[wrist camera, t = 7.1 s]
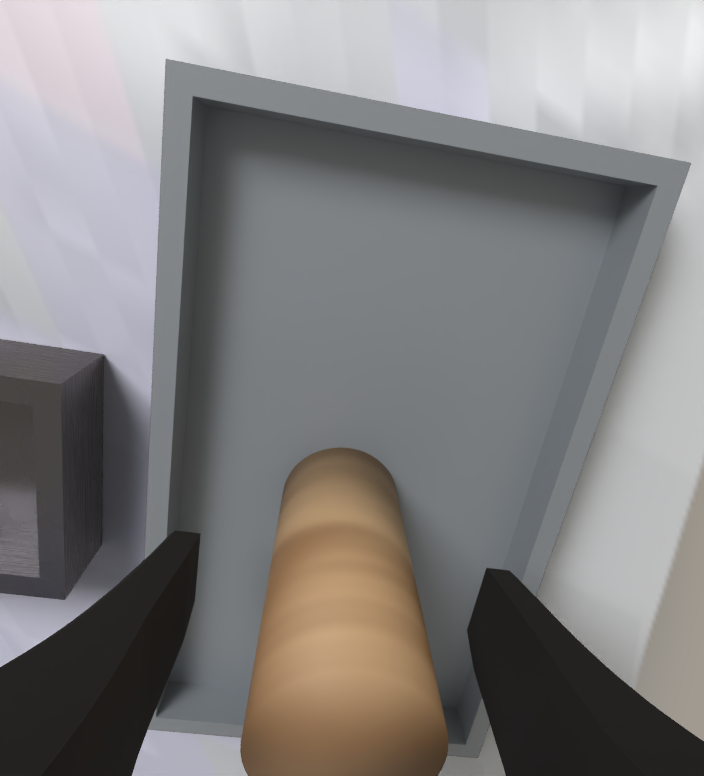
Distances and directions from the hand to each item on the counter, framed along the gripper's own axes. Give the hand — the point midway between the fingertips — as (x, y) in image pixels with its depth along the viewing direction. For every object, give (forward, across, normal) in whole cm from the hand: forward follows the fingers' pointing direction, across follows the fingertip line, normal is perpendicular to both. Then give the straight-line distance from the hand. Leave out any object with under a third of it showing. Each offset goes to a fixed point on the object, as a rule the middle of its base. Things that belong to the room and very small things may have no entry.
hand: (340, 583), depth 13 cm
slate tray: (+5, 0, -1) cm, 5 cm away
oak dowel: (+4, 0, 0) cm, 4 cm away
